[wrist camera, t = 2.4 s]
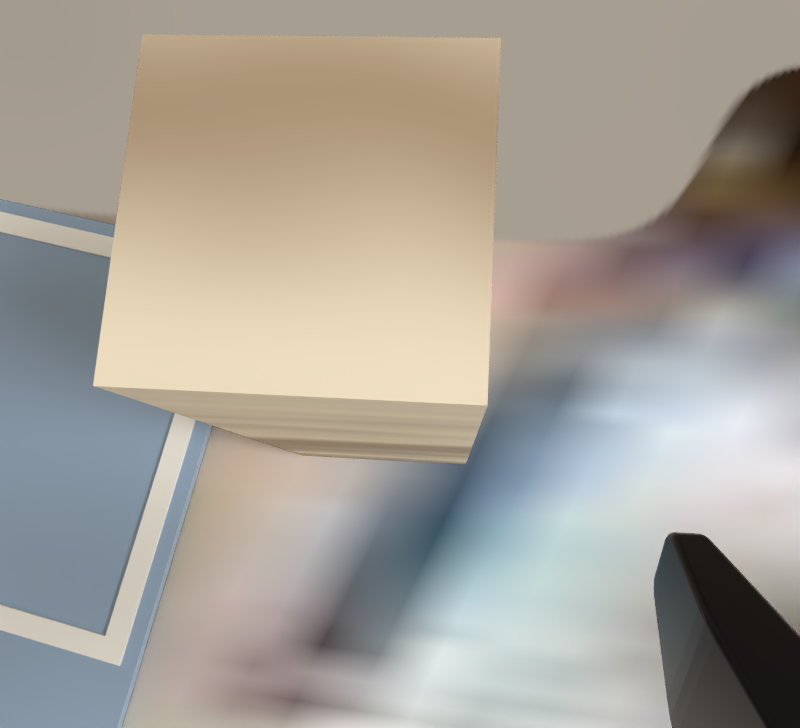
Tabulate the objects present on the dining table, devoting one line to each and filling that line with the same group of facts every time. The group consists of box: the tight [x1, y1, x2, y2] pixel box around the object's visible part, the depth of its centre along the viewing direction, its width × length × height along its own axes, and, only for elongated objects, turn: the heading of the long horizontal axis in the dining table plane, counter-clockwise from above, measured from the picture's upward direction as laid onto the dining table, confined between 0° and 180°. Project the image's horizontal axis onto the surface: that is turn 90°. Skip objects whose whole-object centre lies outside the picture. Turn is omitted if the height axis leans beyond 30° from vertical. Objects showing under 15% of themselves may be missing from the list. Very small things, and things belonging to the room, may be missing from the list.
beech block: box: [93, 35, 501, 464], centre depth 14 cm, size 4×4×12 cm
